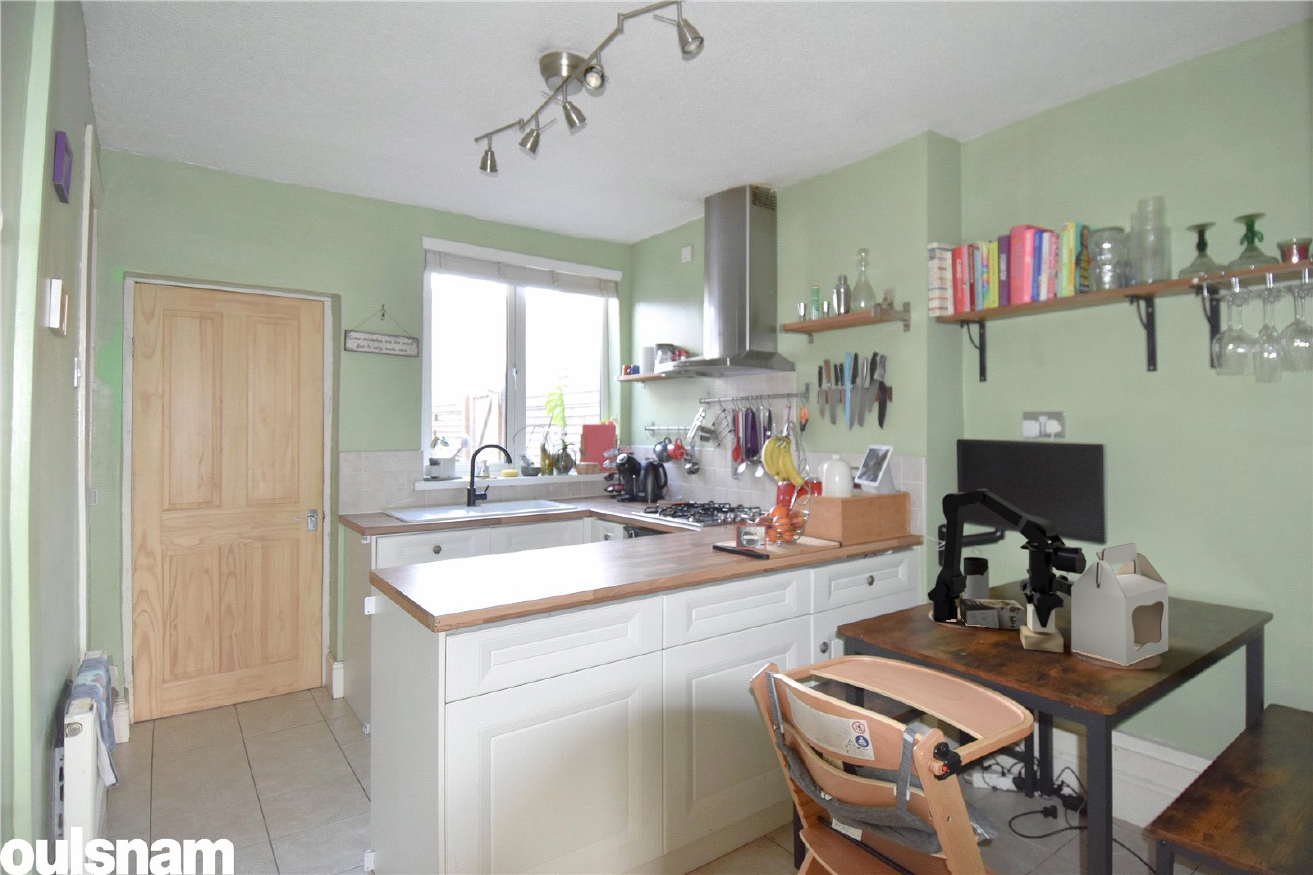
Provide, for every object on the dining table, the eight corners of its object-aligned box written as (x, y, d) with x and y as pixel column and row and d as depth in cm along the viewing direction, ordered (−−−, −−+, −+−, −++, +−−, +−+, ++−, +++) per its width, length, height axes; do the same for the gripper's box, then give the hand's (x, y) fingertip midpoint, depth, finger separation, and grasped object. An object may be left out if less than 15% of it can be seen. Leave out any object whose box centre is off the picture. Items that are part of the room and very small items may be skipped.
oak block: (1024, 650, 179) (1024, 635, 179) (1020, 639, 188) (1020, 625, 187) (1063, 653, 176) (1063, 638, 176) (1057, 643, 184) (1056, 628, 184)
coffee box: (1025, 608, 195) (966, 606, 198) (1025, 630, 195) (966, 627, 198) (1015, 599, 204) (958, 597, 207) (1015, 620, 204) (958, 618, 207)
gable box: (1114, 637, 187) (1114, 538, 187) (1169, 650, 176) (1169, 545, 175) (1070, 652, 176) (1069, 546, 176) (1125, 667, 165) (1125, 554, 164)
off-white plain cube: (1032, 631, 180) (1032, 609, 180) (1027, 625, 185) (1027, 603, 185) (1054, 632, 178) (1054, 610, 178) (1048, 626, 183) (1048, 605, 183)
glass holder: (991, 608, 218) (991, 562, 217) (944, 604, 223) (943, 559, 223) (989, 601, 226) (989, 557, 225) (943, 597, 231) (943, 554, 231)
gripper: (1086, 576, 170) (1086, 637, 170) (1063, 561, 188) (1063, 616, 188) (1037, 574, 173) (1037, 634, 173) (1019, 560, 191) (1019, 614, 191)
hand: (1040, 624), depth 182 cm, fingers closed on off-white plain cube, 5 cm apart
